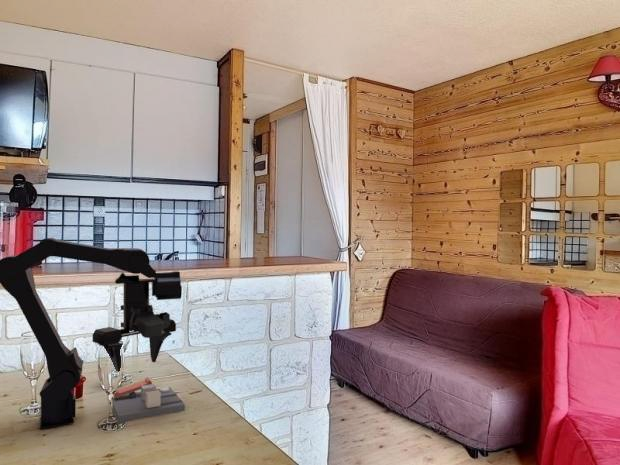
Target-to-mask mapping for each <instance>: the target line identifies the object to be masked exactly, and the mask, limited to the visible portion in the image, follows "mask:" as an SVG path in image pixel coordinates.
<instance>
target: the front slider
mask: <svg viewBox="0 0 620 465" xmlns="http://www.w3.org/2000/svg"><path fill="white" fill-rule="evenodd" d="M160 400H161V393H160V392H159V391H158V390H156V391H150V392H145V405H146V407H147V408H151V407H157V406H160Z"/></svg>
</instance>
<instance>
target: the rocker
mask: <svg viewBox="0 0 620 465" xmlns="http://www.w3.org/2000/svg"><path fill="white" fill-rule="evenodd" d="M151 384H153V382H152V381H151V379H150V378H149V377H145V378H144V380H142V381H141V380H140V381H139V382H135V383H133V384H130V385H127V386H124V387H122V388H117V391H116V393H115V394H114V395H113V396H114V397H115V398H117V397H120V396H123V395H126V394H129V393H132V392H134V391H135V392H138V391H139V390H140V391H141V386H144V385H151Z"/></svg>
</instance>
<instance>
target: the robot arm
mask: <svg viewBox="0 0 620 465" xmlns="http://www.w3.org/2000/svg"><path fill="white" fill-rule="evenodd" d="M50 257H55V258H56V257H58V258H64V259H71V260H77V261H82V262H89V263H97V264H102V265H107V266H111V267H113V268H115V269H118V270H121V271H124V272H126V273H127V272H128V273H130V275H126V274H125V273H124V272H121V273H120V275H119V276H118V277H117V278H115V280H114V283H115V284H118V285H119V284H123V304H122V305H120V311H123V322H120V327H121V328H120V329H119V328H115V327H112V326H107V327H101V328H96V329H95V330H94V332H93V333H92V342H93V343H95V344H98V345H99V346H100V345H102V346H104V348H105V349H106V351H107V353H108V354H109V356H110V358H111V360H112V362H113V365H114V367H115V369H116V371H118V372H119V371H120V368H121V356H120V349H121V347H122V345H123V344H124V343H122V342H121V341H122V339H123V338H124V337H130V336H135V335H141V336H142V337H143V338H145V339H149V341H148V342H149V352H150V359H151V362H152V363H156V362H157V358H158V357H159V353H160V350H161V348H162V345H163V344H164V341H165V340H166V339H167V338H168V337H169V336H171V335H172V333H174V332H177V323H176V322H175V320H174V319H171V317H170V313H169V312H166V311H165V312H159V313H156V314H155V313H154V309H153V308H154V307H153V305H152V304H150V283H151V296H152V297H155V298H156V301H163V300H164V301H165V300H166V301H167V300H181V299H182V295H183V294H182V291H183V290H182V289H183V286H182V284H181V283H182V282H181V272H180V271H178V270H174V271H169V272H167V271H166V272H165V271H164V272H157V270H156V268H153V267H152V266H151V264H150V261H151V260H150V257H149V255H148V253H147V252H146V251H145V250H144V249H141V248H135V247H133V248H131V247H130V248H128V247H126V248H125V247H124V248H123V247H122V248H121V247H120V248H118V247H117V248H113V247H112V248H111V247H110V248H109V247H102V246H96V245H90V244H85V243H79V242H73V241H67V240H60V239H57V238H55V237H46V238H43V239H42V240H40V241H39V242H38V243H37V244H35V245H34V246H31V247H29V248H28V249H26V250H24V251H23V252H21V253H18V254H17V255H16V254H14V255H10V256H5V257H2V258H1V259H0V285H1V286H2V287H3V289H4V290H5V291H6V292H8V294H10V296H12V298H14V300H15V301H16V302H17V304H18V307H19V308H20V310H21V312H22V314H23V316H24V318H25V320H26V321H27V323H28V326H29V328H30V329H31V331H32V333H33V335H34V336H35V339H36V341H37V342H38V345H39V346H40V348H41V350H42V352H43V354H44V356H45V360H46V367H47V372H48V375H49V377H48V378H46V380H45V381H44V383H43V385H42V388H41V389H40V392H39V394H38V395H39V397H40V416H39V429H41V430H44V429H50V428H55V427H62V426H67V425H71V424H72V425H73V424H74V419H75V418H76V414H77V412H76V410H77V408H76V405H77V400H76V396H74V392H73V389H74V388H76V386H78V385H79V383H80V380H81V378H82V374H83V365H84V360H83V359H82V358H81V357H80V356H79V352H78V349H77V347H74V348H72V349H69V348H68V347H67V346H66V344H64V342H63V340H62V338H61V336H60V334H59V333H58V331H57V328H56V326H55V325H54V322H53V321H52V319H51V317H50V314H48V311H47V309H46V307H45V305H44V303H43V302H42V300H41V297H40V296H39V293H38V292H37V288H36V284H35V278H34V273H33V270H32V268H34V267H35V266H37V265H39V264H40V263H41V262H43V261H44V260H47V259H48V258H50ZM131 274H132V275H131ZM139 274H141V275H143V276H144V277H146V278H140V275H139Z"/></svg>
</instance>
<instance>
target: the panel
mask: <svg viewBox="0 0 620 465" xmlns="http://www.w3.org/2000/svg"><path fill="white" fill-rule="evenodd" d="M156 390H158V391H159V392H160V393H161V400H160V406H157V407H151V408H147V407H146V405H145V401H143V400H142V399H141V391H134V392H132V393H129V394H126V395H123V396H120V397H117V398H115V397H114V398H113V409H112V411H113V410H114V411H113V413H114V415H115V416H114V417H115V418H116V420H117V423H125V422H130V421H134V420H141V419H147V418H153V417H157V416H164V415H167V414H168V415H169V414H172V413H173V414H174V413H179V412H185V410H186V405H185V403H184V402H183V400H182V399H181V398H180V397H179V396H178V394H177V393H176V392H175V391H174V390H173V389H172V387H171V386H164V387H160V388H156Z"/></svg>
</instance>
